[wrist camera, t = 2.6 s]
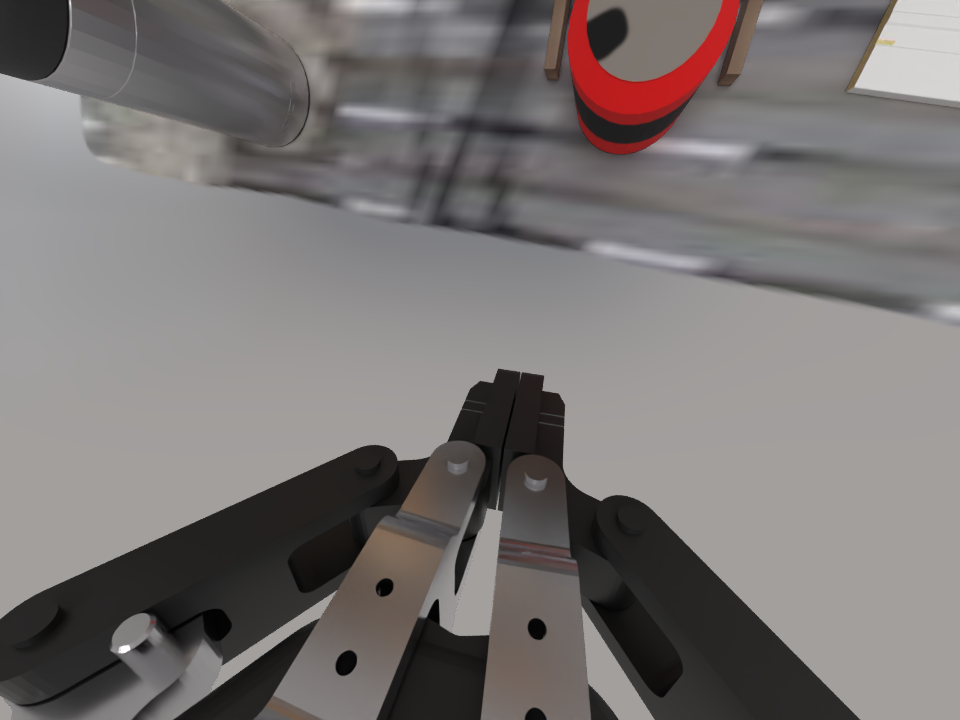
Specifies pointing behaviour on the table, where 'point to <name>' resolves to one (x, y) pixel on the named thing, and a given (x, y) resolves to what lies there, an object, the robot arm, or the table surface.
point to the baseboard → (914, 54)
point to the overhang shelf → (731, 64)
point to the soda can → (641, 64)
